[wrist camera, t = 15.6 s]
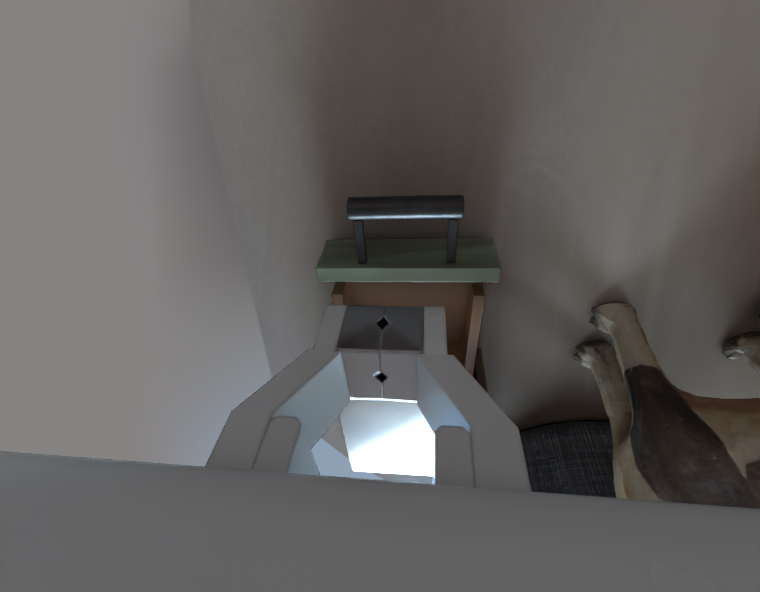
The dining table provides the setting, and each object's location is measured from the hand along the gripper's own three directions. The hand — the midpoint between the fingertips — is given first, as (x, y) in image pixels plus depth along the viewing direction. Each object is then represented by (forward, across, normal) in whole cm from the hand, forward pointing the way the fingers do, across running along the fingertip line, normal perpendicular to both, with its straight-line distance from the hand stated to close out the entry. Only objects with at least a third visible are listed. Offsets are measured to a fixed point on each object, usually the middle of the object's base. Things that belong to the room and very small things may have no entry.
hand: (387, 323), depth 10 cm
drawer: (+17, 0, +12) cm, 21 cm away
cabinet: (+18, 0, +28) cm, 33 cm away
